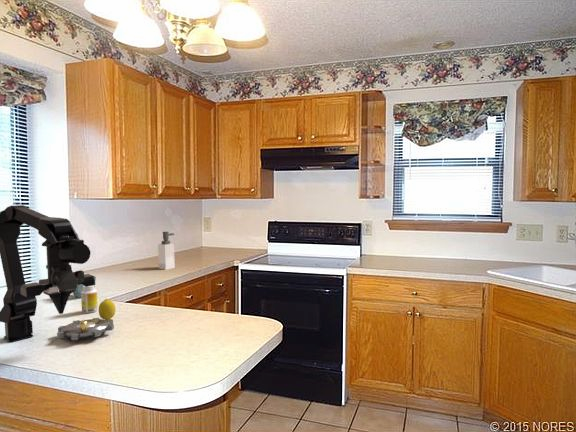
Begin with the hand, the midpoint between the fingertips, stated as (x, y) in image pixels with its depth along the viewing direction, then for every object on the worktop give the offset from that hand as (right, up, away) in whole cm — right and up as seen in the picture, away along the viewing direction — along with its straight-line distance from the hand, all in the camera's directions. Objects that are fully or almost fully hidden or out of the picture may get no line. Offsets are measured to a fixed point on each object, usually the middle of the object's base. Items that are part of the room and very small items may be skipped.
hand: (60, 313), depth 121 cm
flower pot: (-24, -7, +60) cm, 65 cm away
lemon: (+3, -9, +25) cm, 27 cm away
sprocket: (+2, -8, +11) cm, 13 cm away
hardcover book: (-48, -6, +82) cm, 96 cm away
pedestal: (+2, -10, +11) cm, 14 cm away
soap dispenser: (-5, -3, +124) cm, 124 cm away
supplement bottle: (-9, -8, +37) cm, 39 cm away
